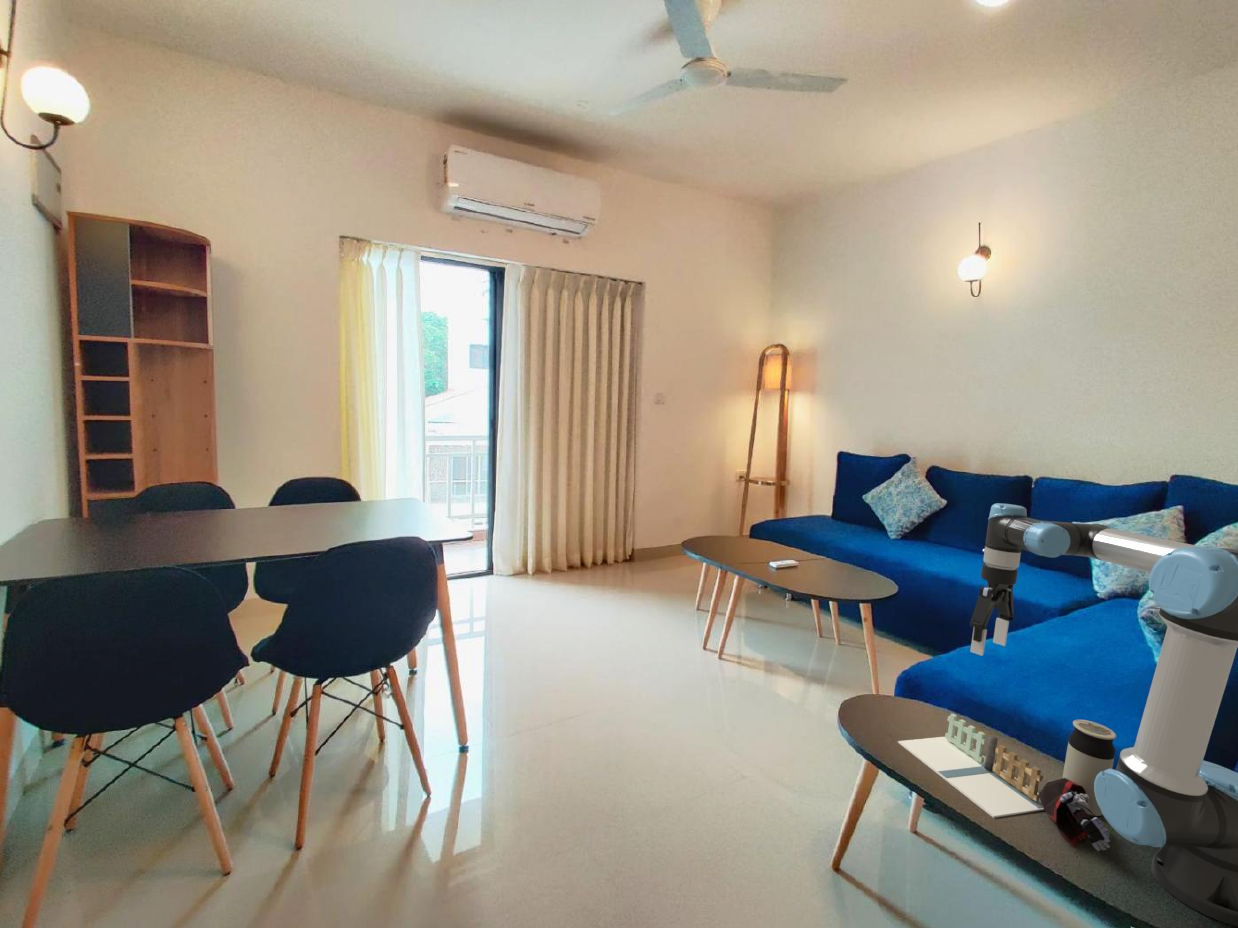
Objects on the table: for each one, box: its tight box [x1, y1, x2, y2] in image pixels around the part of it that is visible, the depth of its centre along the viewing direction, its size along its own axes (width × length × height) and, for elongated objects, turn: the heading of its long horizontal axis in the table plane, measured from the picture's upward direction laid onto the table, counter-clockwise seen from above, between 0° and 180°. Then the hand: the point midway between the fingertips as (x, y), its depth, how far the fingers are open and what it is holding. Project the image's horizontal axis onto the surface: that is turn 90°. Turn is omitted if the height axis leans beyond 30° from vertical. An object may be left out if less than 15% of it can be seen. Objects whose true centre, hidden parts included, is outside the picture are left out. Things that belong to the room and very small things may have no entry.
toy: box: [1038, 778, 1111, 852], centre depth 123 cm, size 12×9×15 cm
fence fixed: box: [984, 734, 1044, 801], centre depth 137 cm, size 13×2×8 cm, turn 16°
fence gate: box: [944, 713, 988, 763], centre depth 149 cm, size 11×1×7 cm, turn 16°
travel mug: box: [1061, 719, 1117, 817], centre depth 132 cm, size 8×8×18 cm
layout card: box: [897, 735, 1045, 819], centre depth 141 cm, size 28×18×1 cm, turn 16°
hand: (988, 648), depth 150 cm, fingers open, 12 cm apart
